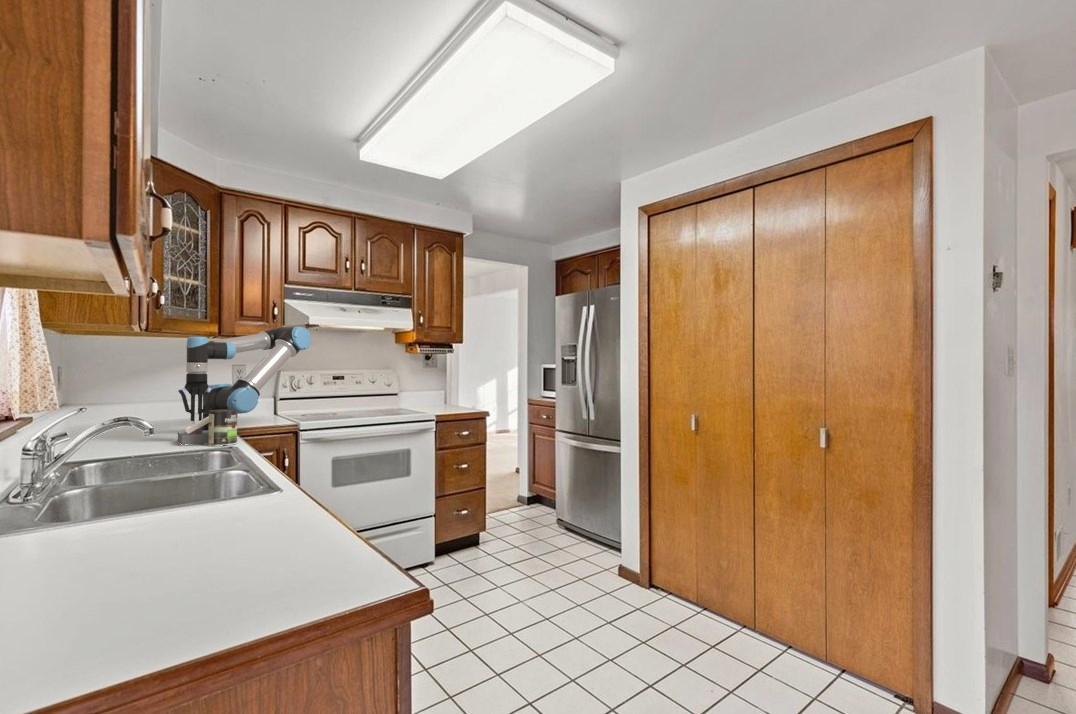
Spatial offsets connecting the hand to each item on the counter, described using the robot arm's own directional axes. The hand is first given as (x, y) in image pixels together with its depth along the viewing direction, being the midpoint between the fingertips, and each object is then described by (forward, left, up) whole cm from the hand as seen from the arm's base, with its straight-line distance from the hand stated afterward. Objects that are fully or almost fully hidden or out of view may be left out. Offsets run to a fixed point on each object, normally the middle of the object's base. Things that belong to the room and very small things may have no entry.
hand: (196, 428), depth 221 cm
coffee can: (+15, +7, -6) cm, 18 cm away
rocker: (+6, 0, +2) cm, 6 cm away
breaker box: (+3, 0, -5) cm, 6 cm away
